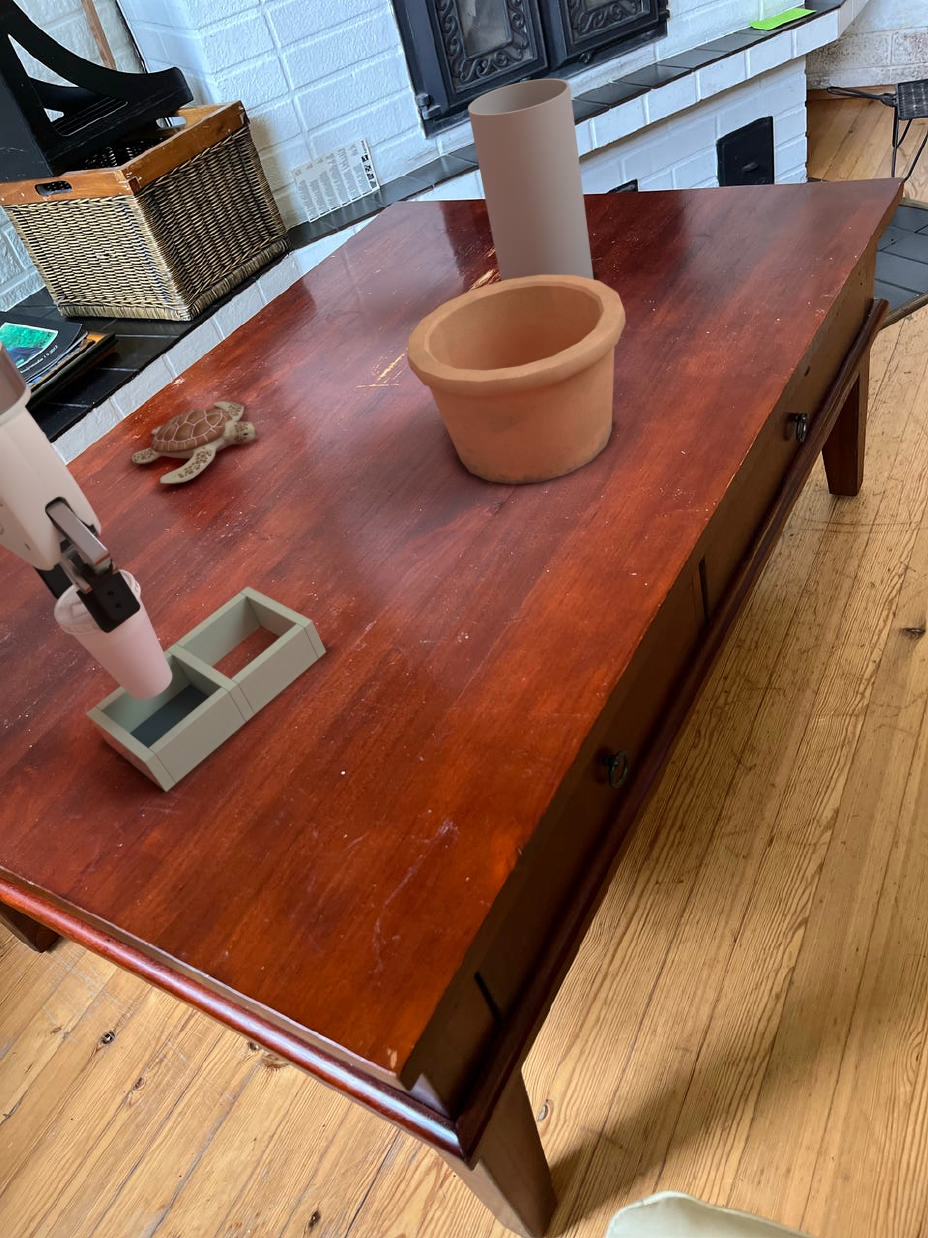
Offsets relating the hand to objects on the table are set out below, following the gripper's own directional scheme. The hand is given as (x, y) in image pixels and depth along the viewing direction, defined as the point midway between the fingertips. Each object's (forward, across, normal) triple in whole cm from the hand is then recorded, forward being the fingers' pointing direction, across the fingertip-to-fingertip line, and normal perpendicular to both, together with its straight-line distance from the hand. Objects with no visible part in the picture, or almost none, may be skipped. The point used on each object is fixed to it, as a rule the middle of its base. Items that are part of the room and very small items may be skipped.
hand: (97, 602), depth 68 cm
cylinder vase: (+16, -21, +79) cm, 84 cm away
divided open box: (+16, 0, +4) cm, 16 cm away
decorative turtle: (+16, -39, +30) cm, 52 cm away
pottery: (+16, +1, +48) cm, 51 cm away
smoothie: (+9, 0, 0) cm, 9 cm away
